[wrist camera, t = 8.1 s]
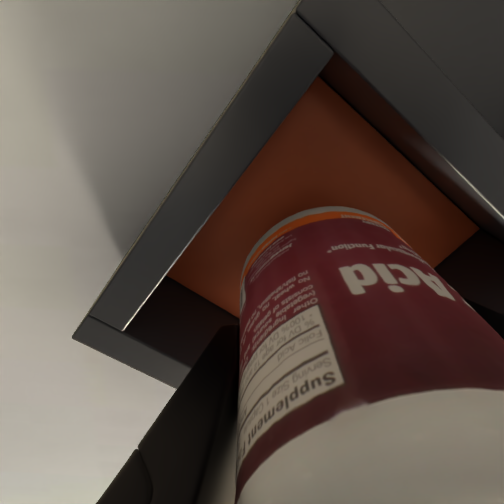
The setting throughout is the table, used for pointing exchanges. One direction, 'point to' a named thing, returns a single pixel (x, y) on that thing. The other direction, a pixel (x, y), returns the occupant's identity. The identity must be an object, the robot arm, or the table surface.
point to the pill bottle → (362, 372)
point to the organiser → (326, 168)
